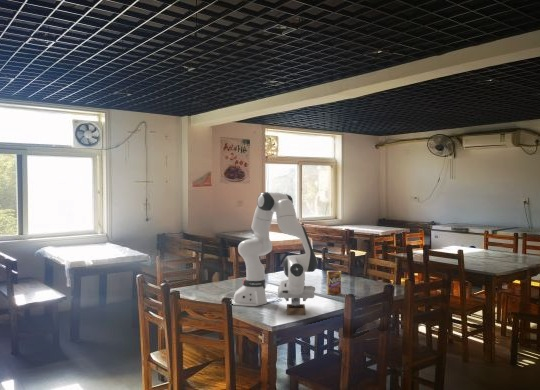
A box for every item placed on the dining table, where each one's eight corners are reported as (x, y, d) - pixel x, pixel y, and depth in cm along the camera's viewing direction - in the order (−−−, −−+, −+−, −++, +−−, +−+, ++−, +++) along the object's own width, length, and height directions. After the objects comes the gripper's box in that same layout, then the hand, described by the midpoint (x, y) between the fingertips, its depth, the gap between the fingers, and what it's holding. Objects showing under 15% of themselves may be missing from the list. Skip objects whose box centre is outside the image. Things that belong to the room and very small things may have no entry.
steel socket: (291, 311, 260) (291, 298, 260) (291, 309, 265) (291, 296, 265) (300, 311, 260) (300, 298, 260) (299, 309, 265) (299, 296, 264)
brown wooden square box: (286, 314, 257) (286, 308, 257) (286, 310, 267) (286, 304, 267) (305, 315, 257) (305, 308, 257) (304, 310, 267) (304, 304, 267)
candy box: (327, 294, 306) (327, 271, 306) (326, 293, 310) (326, 270, 310) (341, 294, 306) (341, 271, 306) (339, 293, 311) (339, 270, 311)
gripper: (315, 281, 255) (314, 295, 265) (277, 281, 255) (277, 295, 265) (315, 291, 250) (314, 305, 260) (277, 291, 251) (277, 304, 261)
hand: (295, 300), depth 263 cm, fingers open, 8 cm apart
